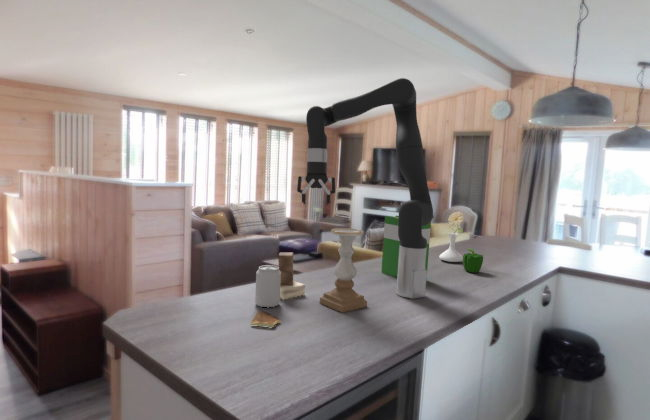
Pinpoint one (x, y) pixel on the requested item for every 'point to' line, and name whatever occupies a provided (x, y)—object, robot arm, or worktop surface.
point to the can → (268, 286)
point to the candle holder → (344, 275)
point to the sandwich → (265, 319)
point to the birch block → (292, 290)
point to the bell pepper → (472, 261)
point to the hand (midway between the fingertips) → (315, 204)
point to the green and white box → (397, 246)
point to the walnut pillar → (286, 267)
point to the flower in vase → (453, 239)
